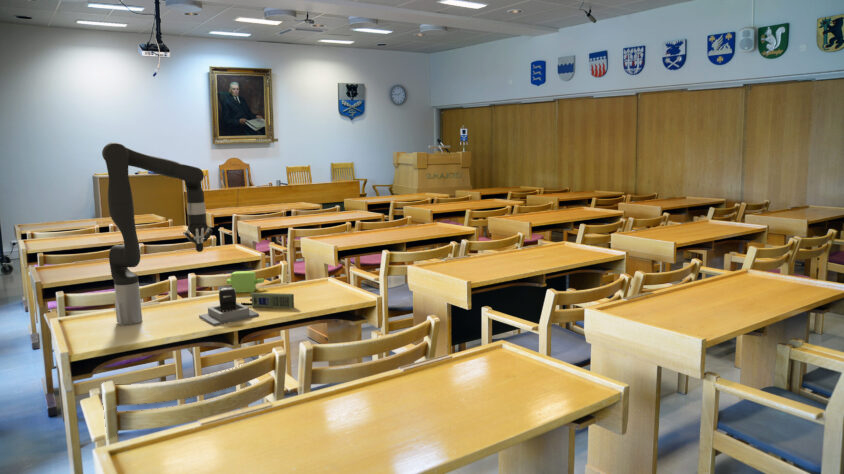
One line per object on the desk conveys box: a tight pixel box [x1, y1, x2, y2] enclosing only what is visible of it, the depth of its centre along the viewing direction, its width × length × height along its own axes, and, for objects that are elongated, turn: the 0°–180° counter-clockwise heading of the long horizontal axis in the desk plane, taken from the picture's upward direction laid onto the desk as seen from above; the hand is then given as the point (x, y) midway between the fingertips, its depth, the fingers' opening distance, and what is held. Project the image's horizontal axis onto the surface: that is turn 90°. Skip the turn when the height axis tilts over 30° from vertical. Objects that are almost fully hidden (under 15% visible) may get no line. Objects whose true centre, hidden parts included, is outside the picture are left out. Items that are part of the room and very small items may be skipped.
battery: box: [218, 287, 237, 313], centre depth 270 cm, size 7×4×11 cm, turn 105°
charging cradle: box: [198, 301, 260, 327], centre depth 270 cm, size 20×16×4 cm
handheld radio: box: [240, 292, 295, 309], centre depth 284 cm, size 7×3×25 cm
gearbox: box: [226, 270, 265, 293], centre depth 314 cm, size 18×10×10 cm, turn 97°
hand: (199, 251), depth 276 cm, fingers closed
